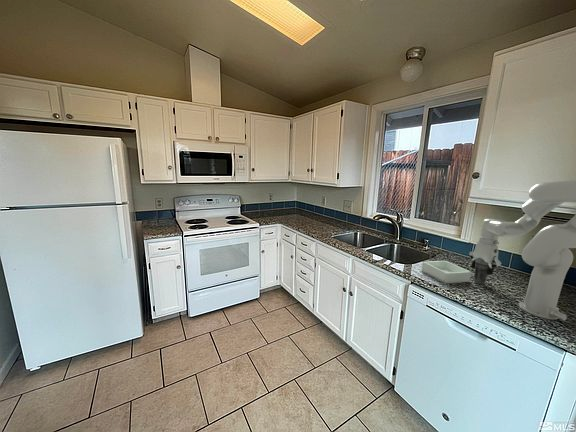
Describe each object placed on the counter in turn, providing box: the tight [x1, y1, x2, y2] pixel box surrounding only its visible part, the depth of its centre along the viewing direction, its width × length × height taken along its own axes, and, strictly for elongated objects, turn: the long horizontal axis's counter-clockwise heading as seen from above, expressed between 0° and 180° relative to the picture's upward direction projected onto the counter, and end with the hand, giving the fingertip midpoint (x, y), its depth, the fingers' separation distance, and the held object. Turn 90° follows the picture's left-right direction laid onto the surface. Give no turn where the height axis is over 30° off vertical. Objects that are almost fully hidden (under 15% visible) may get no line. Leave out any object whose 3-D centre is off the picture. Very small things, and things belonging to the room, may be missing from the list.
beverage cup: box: [473, 258, 489, 285], centre depth 131 cm, size 7×7×20 cm
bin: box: [421, 260, 472, 284], centre depth 139 cm, size 17×17×6 cm
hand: (481, 270), depth 131 cm, fingers open, 8 cm apart
